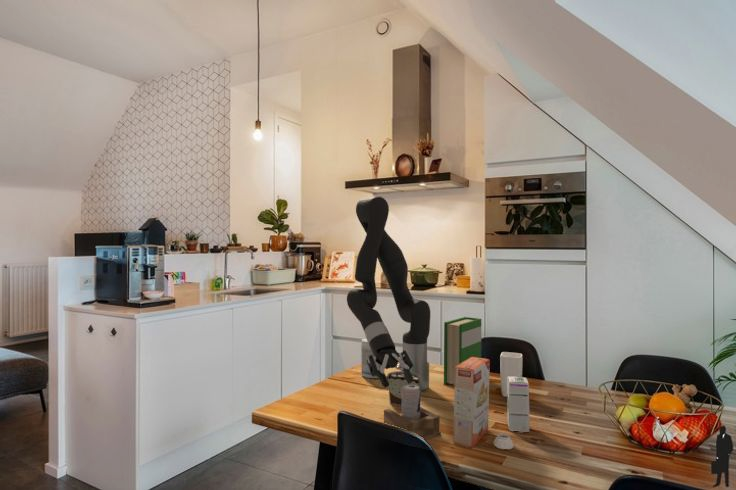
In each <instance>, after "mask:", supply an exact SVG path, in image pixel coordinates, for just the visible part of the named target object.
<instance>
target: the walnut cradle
mask: <svg viewBox="0 0 736 490" xmlns="http://www.w3.org/2000/svg"><path fill="white" fill-rule="evenodd" d="M440 418H441V417H440V416H438V415H437V414H435V413H433V412H431V411H429V410H427V409H425V408H423V407H421V406H420V418H418V419H414V420H407V419H406V418H404V417H402V416H401V414H399V413H398V412H396V411H394V410H393V409H390V408H387V409H384V410H383V424H384V423H387V424H390V425H394V426H397V427H400V428H403V429H406V430H408V431H411V432H414V433H416V434H418V435H419V436H421V437H423V438H424V440H428V439H431V438H435V437H439V435H440V436H441V435H442V432H441V431H440V425H441V423H440V420H441V419H440Z"/></svg>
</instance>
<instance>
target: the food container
mask: <svg viewBox="0 0 736 490" xmlns="http://www.w3.org/2000/svg"><path fill="white" fill-rule="evenodd" d="M411 375H412V377H413V381H412V382H411V383H410V384H415V385H418V386H420V385H421V384H422V381H421V378H420V375H418V374H416V373H413V372H411ZM386 377H387V380H388V382H389V386H388V396H389V397H388V399H389V404H390V405H395V406H401V407H402V387H403V385H406V384H408V383H407V381H406V378H405V376H404V373H403V372H402V371H401V370H398V371H390V372H388V373H387V375H386Z"/></svg>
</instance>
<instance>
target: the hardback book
mask: <svg viewBox="0 0 736 490" xmlns="http://www.w3.org/2000/svg"><path fill="white" fill-rule="evenodd" d="M443 323H444V324H443V329H444V331H443V337H444V338H443V385H444V386H447V385H454V386H455V367H456V366H457V365H459V364H461V363H462V362H464V361H466V360H467V359H469V358H471V357H477V358H482V318H478V317H468V316H464V317H460V318H456V319H452V320H448V321H444V322H443Z"/></svg>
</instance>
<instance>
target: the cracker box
mask: <svg viewBox="0 0 736 490" xmlns="http://www.w3.org/2000/svg"><path fill="white" fill-rule="evenodd" d="M490 361H491V360H490V359H488V358H484V357H483V358H482V357H481V358H477V357H471V358H469V359H467V360H466V361H464V362H462V363H461V364H459V365H457V366H456V367H455V385H454V392H453V394H454V396H453V397H454V398H453V440H452V441H453V443H454V444H458V445H461V446H465V447H467V448H468V447H469V448H472V447H473V448H474V447H475V446H476V445H477V443H478V442H479V441H480V440H481V439H482V438H483V437H484V435H485V434H487V432H488V431H489V411H490V407H489V405H490V402H489V401H490V371H491V370H490V368H491V367H490V366H491V364H490V363H491V362H490Z"/></svg>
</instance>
